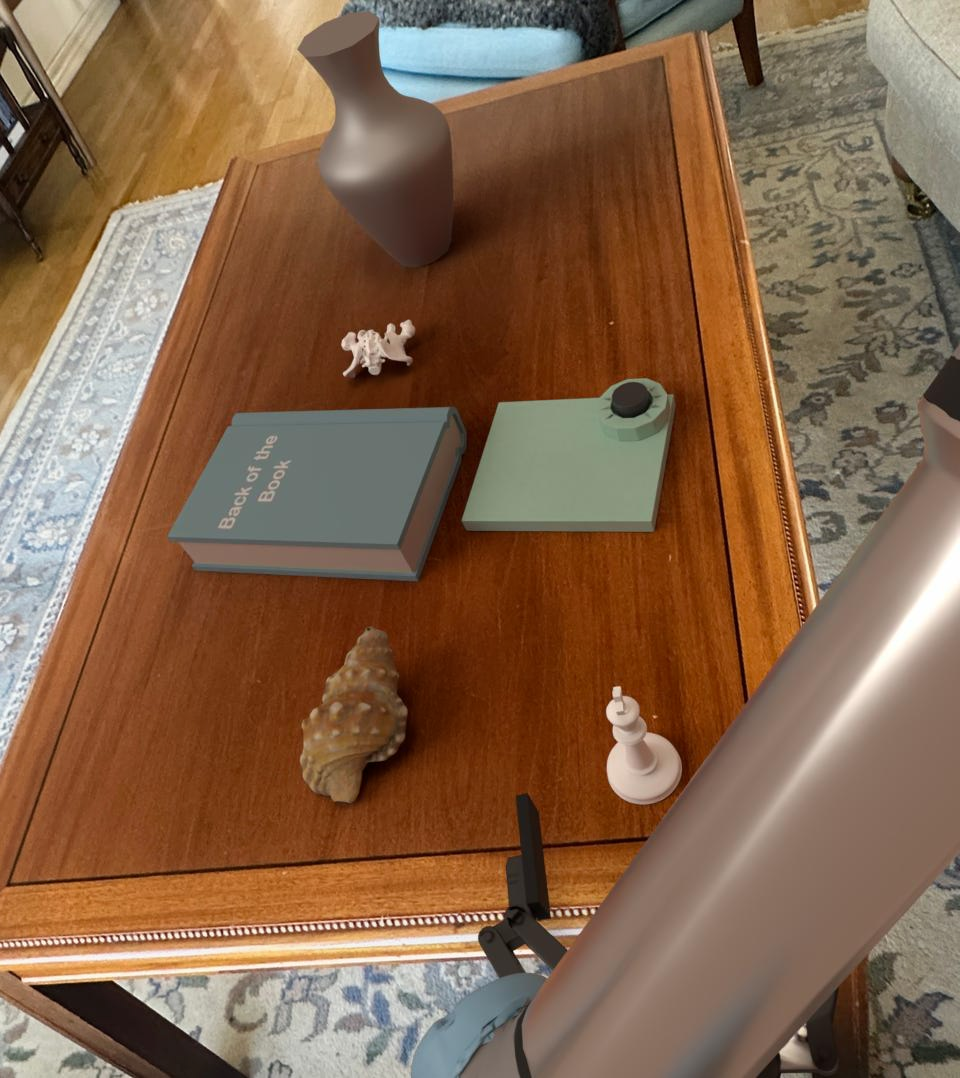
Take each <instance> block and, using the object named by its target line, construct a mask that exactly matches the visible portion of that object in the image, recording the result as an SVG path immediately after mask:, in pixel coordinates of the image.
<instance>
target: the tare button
mask: <svg viewBox="0 0 960 1078" xmlns="http://www.w3.org/2000/svg"><path fill="white" fill-rule="evenodd" d="M612 401H613V405H614V409H615V412H616V413H617V414H618V415H619V416H620V417H623V418H635V417H637V416H639V415H642V414H644V413H645V412H646V411H647V410H648V408H649V406H650V399H649V395H648V390H647V388H646V387H645V386H644V385H643V384H641V383H639V382H628V383H625V384H622V385H620V386H619V387H617V388H616V389H615V390H614V392H613V394H612Z"/></svg>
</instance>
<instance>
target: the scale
mask: <svg viewBox="0 0 960 1078" xmlns="http://www.w3.org/2000/svg"><path fill="white" fill-rule="evenodd" d="M628 382H639V383H641V384H643V385H644V386H645V387H646V388H647V390H648V395H649V399H650V406H649V408H648V410H647V411H646V412H645V413H644V414H642V415H639V416H637V417H635V418H623V417H620V416H619V415H618V414H617V413H616V412H615V409H614V405H613V401H612V394H613V392H614V390H615V389H616V388H617V387H619V386H620V385H622V384H625V383H628ZM676 407H677V405H676V399H675V394H674V393H670V394H668V393H667V391H666V390H665V389H664V387H663V385H662V384H661V383H660V382H658V381H655V380H652V379H649V378H647V377H645V378H641V377H640V378H626V379H624V380H622V381H620V382H617V383H614V384H613V385H611V386H609V388H607V389H606V390H605V391H604V392H603V393H602V394H601V395H600V397H585V398H566V399H565V398H563V399H562V398H561V399H542V400H541V399H540V400H539V399H538V400H521V401H520V400H519V401H501V402H500V401H498V404H497V407H496V410H495V412H494V413H495V414H494V416H493V420H492V423H491V426H490V430H489V432H488V434H487V439H486V442H485V444H484V445H485V446H484V448H483V451H482V454H481V458H480V460H479V464H478V468H477V469H476V474H475V477H474V479H473V483H472V486H471V489H470V492H469V496H468V499H467V502H466V504H465V508H464V512H463V514H462V517H461V523H462V525H463V527H464V529H465V531H466V532H589V533H591V532H595V533H596V532H597V533H598V532H601V533H605V532H608V533H612V532H613V533H614V532H616V533H617V532H618V533H621V532H623V533H624V532H626V533H646V532H647V533H654V532H655V530H656V525H657V519H658V513H659V507H660V501H661V495H662V490H663V484H664V483H663V482H664V477H665V471H666V465H667V460H668V453H669V448H670V442H671V437H672V432H673V431H672V430H673V425H674V418H675V412H676Z"/></svg>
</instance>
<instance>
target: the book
mask: <svg viewBox="0 0 960 1078" xmlns="http://www.w3.org/2000/svg"><path fill="white" fill-rule="evenodd" d="M467 432H468V431H467V430H466V426H465V424H464V422H463V421H462V418H461V416H460V414H459V411H458V409H457V407H456V406H439V407H437V406H436V407H434V406H433V407H402V408H398V407H397V408H365V409H330V410H329V409H324V410H292V411H291V410H289V411H256V412H235V413H234V415H233V416H232V418H231V425H230V426H229V425H228V426H227V428H226V429H225V431H224V433H223V435H222V436H221V438H220V440H219V442H218V444H217V446H216V447H215V449H214V451H213V452H212V455H211V456H210V458H209V460H208V462H207V463H206V465H205V467H204V468H203V470H202V472H201V474H200V476H199V478H198V479H197V482H196V483H195V486H194V487H193V489H192V490H191V492H190V494H189V496H188V497H187V500H186V501H185V503H184V505H183V507H182V509H181V511H180V512H179V514H178V516H177V518H176V520H175V522H174V523H173V525H172V527H171V529H170V530H169V532H168V534H167V536H166V537H167V539H168V540H169V541H170V542H172V543H178V544H179V545H180V546H181V548H182V549H183V550H184V551H185V552H186V554H187V555H188V557H190V559H192V561H193V562H192V565H191V567H192V569H193V570H194V571H196V572H215V573H237V574H255V575H256V574H257V575H274V576H275V575H277V576H301V577H319V578H339V579H340V578H342V579H359V580H360V579H361V580H362V579H364V580H382V581H401V582H419V580H420V578H421V575H422V572H423V570H424V567H425V564H426V561H427V558H428V557H429V553H430V550H431V547H432V545H433V542H434V539H435V536H436V533H437V531H438V528H439V525H440V522H441V519H442V517H443V514H444V511H445V508H446V505H447V503H448V500H449V497H450V495H451V491H452V489H453V487H454V483H455V481H456V478H457V475H458V472H459V470H460V467H461V464H462V460H463V459H462V457H463V456H462V455H464V454H465V452H466V450H467V447H468V442H467V441H468V439H467V437H468V436H467V434H468V433H467Z"/></svg>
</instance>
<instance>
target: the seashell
mask: <svg viewBox="0 0 960 1078" xmlns="http://www.w3.org/2000/svg"><path fill="white" fill-rule="evenodd" d="M393 655H394V651H393V649H392V648H391V646H390V643H389V635H388V634H387V632H386V631H385V630H381V629H377V628H375V627H374V626H367V627H366V628H365V629H364V631H363V633H362V634H361V635H359V636H358V638H357V641H356V644H355V645H353V647H352V648H351V649H350V650H349V651H348V653H347V654H346V656H345V659H344V664H343V665H342V666H341V667H340V668H339V669H338V670H336V671H335V672H333V673H332V674H331V675H329V676H328V677H327V679H326V681H325V684H324V685H325V687H324V691H323V695H322V699H321V701H322V703H321V704H320V706H317V707H315V708H313V709H312V710H311V712H310V713H309V716H308V717H307V718H304V719H303V720H302V722H301V730H302V733H303V734H302V735H303V744H302V751H301V754H300V758H299V763H300V766H301V769H302V770H301V771H302V778H303V780H304V782H305V783H306V784H307V785H308V787H309V788H310V790H311V791H312V792H313V793H315V794H317V795H321V796H325V797H330V799H331V801H332V802H333V803H335V802H343V803H348V804H352V803H354V802H355V801H356V799H357V797H358V796H359V794H360V789H361V785H362V779H363V771H364V769H365V768H366V767H367V764H369V763H375V762H376V763H377V762H383V761H384V762H385V761H386V760H388V759H389V758H391V757H392V756H393V755H395V754H396V753H397V752H398V750H399V748H400V747H401V745H402V743H403V742H404V741H405V738H406V728H407V720H408V713H409V712H408V711H409V710H408V708H407V706H406V705H405V703H404V702H403V700H402V698H401V697H400V696H399V694H398V681H399V678H400V674H399V672H398V671H397V668H396V665H395V663H394V661H393Z"/></svg>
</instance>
